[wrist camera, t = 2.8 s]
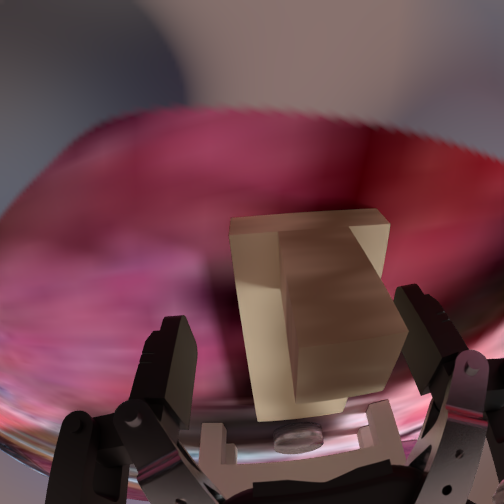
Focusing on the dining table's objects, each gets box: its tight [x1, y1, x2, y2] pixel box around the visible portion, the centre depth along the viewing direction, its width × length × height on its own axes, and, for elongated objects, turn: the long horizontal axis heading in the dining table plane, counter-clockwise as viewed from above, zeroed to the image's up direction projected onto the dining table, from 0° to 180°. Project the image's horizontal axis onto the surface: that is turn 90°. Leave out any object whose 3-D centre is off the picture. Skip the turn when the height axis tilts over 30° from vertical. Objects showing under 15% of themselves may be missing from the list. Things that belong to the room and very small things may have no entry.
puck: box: [273, 422, 324, 454], centre depth 25 cm, size 5×5×2 cm
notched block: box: [198, 400, 406, 499], centre depth 19 cm, size 19×8×16 cm, turn 98°
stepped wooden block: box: [229, 208, 409, 422], centre depth 15 cm, size 7×17×8 cm, turn 5°
